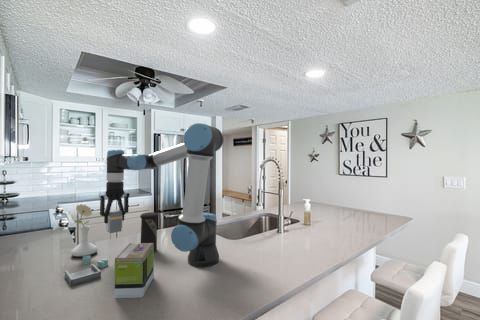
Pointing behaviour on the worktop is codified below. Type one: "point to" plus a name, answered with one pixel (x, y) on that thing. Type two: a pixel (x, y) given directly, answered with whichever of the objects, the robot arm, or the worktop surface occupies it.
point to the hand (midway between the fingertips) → (114, 228)
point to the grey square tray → (83, 275)
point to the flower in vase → (84, 234)
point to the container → (149, 228)
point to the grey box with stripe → (115, 221)
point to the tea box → (134, 270)
